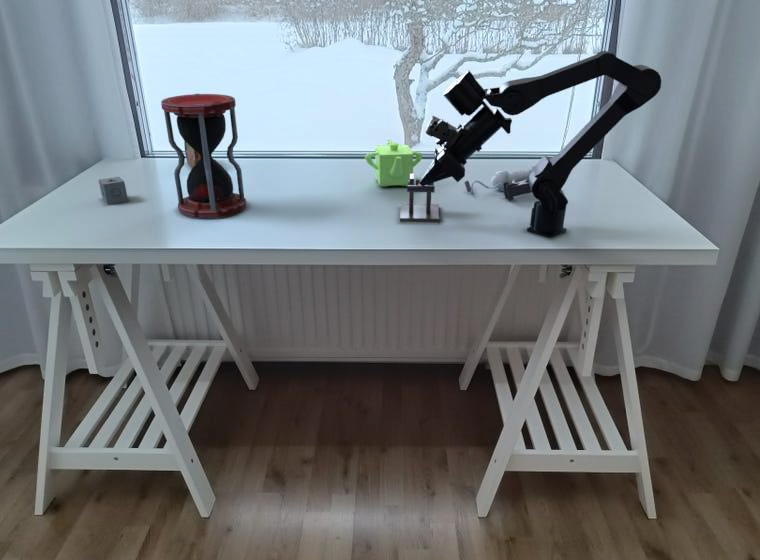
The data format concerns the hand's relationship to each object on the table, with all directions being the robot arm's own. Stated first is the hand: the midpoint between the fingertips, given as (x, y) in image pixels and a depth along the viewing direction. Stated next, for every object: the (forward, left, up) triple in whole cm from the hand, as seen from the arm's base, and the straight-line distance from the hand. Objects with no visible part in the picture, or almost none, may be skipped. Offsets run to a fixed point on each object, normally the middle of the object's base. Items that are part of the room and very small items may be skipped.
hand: (420, 184), depth 142 cm
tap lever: (+3, -3, -3) cm, 6 cm away
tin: (+82, +11, -10) cm, 83 cm away
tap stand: (+6, -6, -10) cm, 13 cm away
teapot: (+30, -20, -10) cm, 37 cm away
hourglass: (+44, +27, -10) cm, 53 cm away
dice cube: (+66, +42, -10) cm, 79 cm away
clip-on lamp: (+5, -34, -10) cm, 36 cm away
